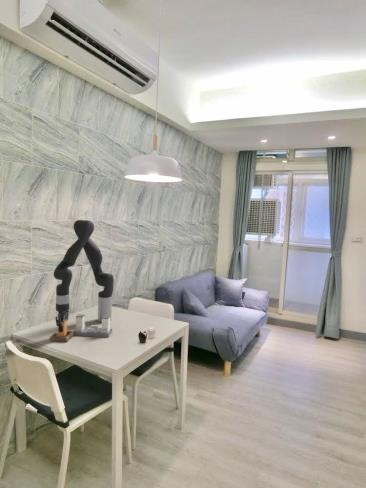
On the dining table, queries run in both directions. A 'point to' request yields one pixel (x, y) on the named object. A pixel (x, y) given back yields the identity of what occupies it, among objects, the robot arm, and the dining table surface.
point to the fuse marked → (63, 328)
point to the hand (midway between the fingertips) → (62, 330)
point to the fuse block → (92, 327)
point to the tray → (62, 337)
